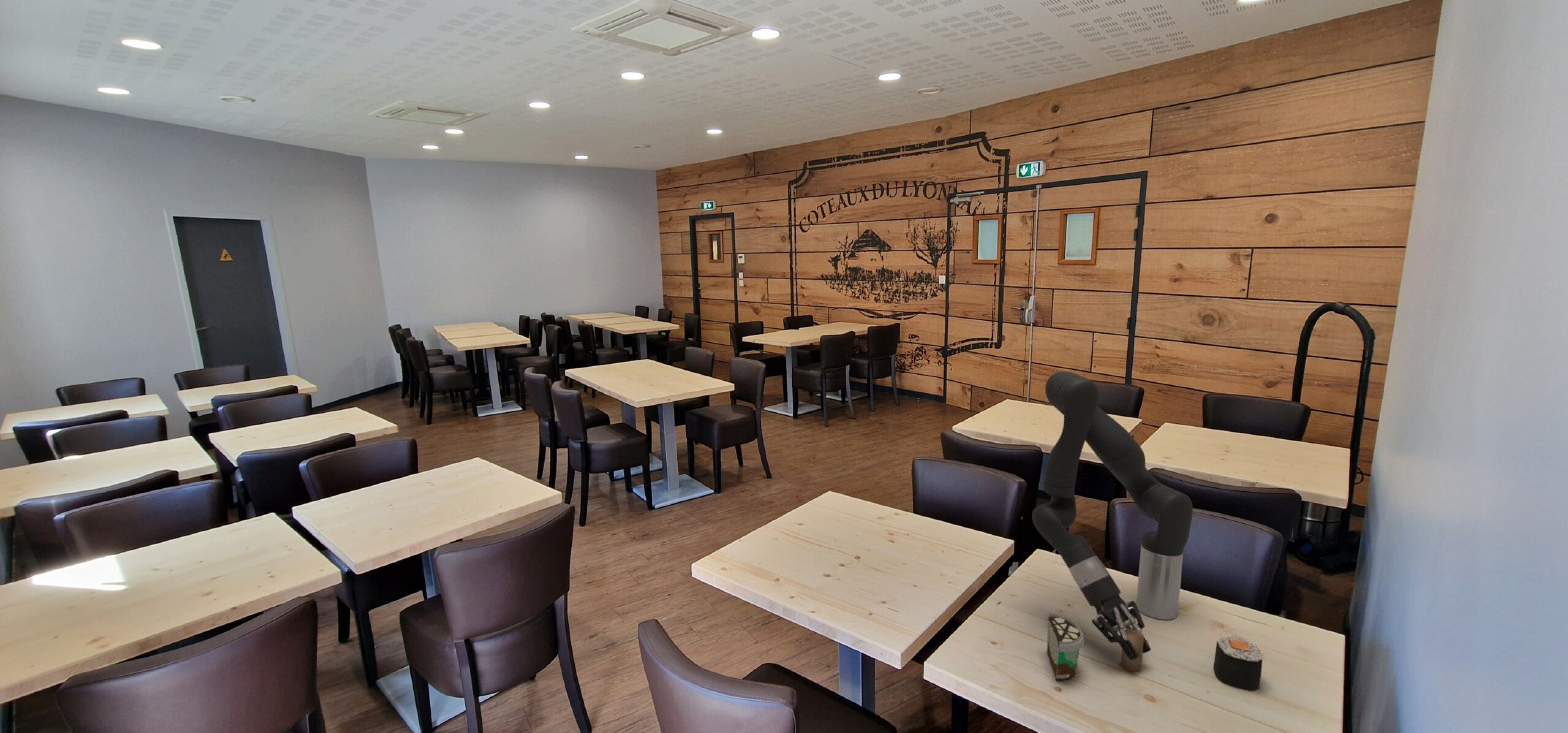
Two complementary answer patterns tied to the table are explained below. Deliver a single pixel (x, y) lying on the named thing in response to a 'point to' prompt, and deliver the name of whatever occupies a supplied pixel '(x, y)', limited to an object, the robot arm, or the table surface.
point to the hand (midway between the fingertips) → (1140, 654)
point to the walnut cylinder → (1137, 642)
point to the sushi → (1238, 663)
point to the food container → (1063, 646)
